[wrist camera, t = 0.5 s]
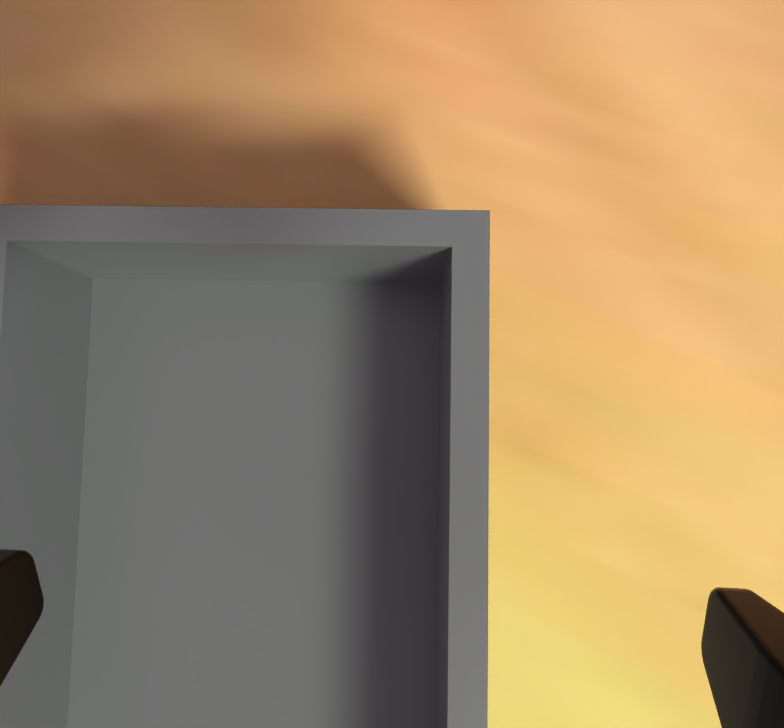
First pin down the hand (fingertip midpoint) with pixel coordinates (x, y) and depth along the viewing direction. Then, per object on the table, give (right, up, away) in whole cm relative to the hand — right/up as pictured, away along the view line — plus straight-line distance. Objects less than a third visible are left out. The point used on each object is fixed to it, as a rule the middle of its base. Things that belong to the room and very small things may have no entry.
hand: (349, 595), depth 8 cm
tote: (-4, -5, +13) cm, 15 cm away
